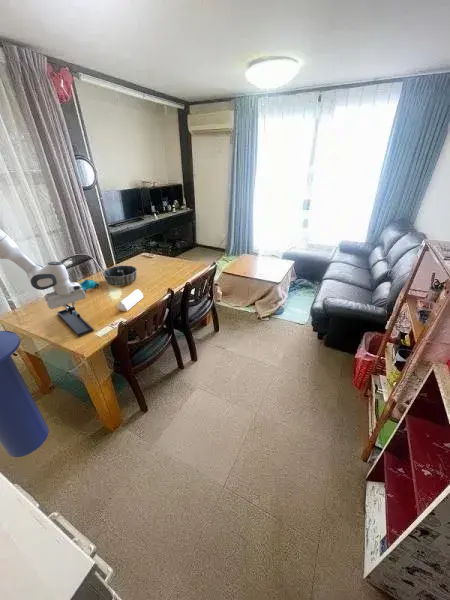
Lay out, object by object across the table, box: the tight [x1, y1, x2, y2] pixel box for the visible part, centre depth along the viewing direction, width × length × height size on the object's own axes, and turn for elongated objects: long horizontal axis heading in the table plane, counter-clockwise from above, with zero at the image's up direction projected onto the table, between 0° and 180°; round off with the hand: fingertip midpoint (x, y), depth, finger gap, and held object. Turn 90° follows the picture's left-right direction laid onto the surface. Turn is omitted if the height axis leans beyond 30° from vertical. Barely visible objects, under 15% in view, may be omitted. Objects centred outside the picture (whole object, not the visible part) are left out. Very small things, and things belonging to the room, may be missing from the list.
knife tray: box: [57, 308, 94, 338], centre depth 158 cm, size 8×35×2 cm, turn 47°
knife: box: [66, 304, 81, 318], centre depth 154 cm, size 31×3×4 cm, turn 43°
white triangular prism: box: [116, 288, 144, 312], centre depth 178 cm, size 7×7×24 cm
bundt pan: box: [102, 264, 138, 287], centre depth 210 cm, size 26×26×10 cm
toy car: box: [79, 279, 100, 292], centre depth 199 cm, size 11×18×7 cm, turn 151°
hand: (70, 309), depth 154 cm, fingers closed on knife
